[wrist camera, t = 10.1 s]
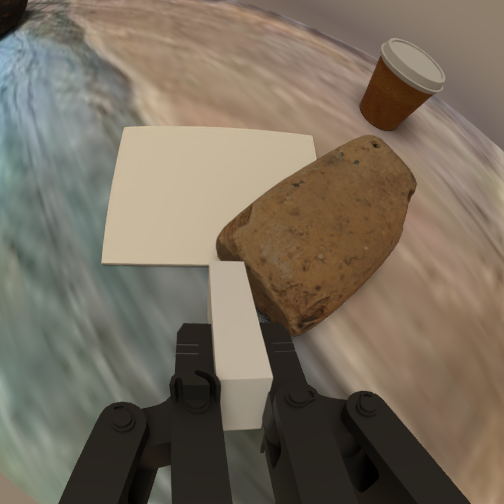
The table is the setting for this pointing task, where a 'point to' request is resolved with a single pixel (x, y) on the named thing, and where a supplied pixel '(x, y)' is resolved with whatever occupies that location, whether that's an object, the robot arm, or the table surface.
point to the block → (321, 232)
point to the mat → (190, 188)
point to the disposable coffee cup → (400, 84)
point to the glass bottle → (10, 13)
